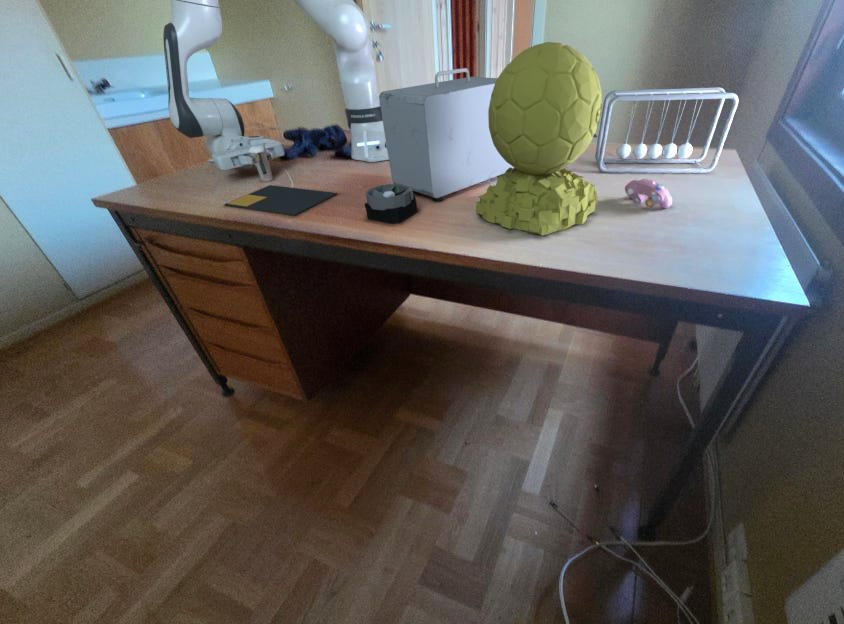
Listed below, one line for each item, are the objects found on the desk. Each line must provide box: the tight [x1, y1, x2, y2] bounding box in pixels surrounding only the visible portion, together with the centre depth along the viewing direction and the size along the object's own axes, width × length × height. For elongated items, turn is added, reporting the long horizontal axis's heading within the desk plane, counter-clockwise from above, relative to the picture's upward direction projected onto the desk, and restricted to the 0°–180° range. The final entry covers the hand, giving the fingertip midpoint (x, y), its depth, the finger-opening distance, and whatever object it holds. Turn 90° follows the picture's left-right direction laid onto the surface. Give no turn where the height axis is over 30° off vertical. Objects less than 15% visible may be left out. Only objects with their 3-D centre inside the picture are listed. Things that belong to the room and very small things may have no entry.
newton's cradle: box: [594, 86, 739, 174], centre depth 103 cm, size 30×10×18 cm, turn 80°
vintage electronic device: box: [379, 67, 514, 202], centre depth 99 cm, size 32×18×25 cm, turn 135°
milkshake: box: [249, 143, 274, 182], centre depth 113 cm, size 4×5×10 cm
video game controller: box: [624, 177, 673, 209], centre depth 86 cm, size 10×5×7 cm, turn 36°
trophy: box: [475, 41, 603, 236], centre depth 77 cm, size 22×22×30 cm
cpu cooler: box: [364, 183, 418, 224], centre depth 89 cm, size 10×6×10 cm
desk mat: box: [224, 184, 338, 217], centre depth 102 cm, size 24×16×1 cm, turn 66°
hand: (262, 158), depth 112 cm, fingers closed on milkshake, 4 cm apart
